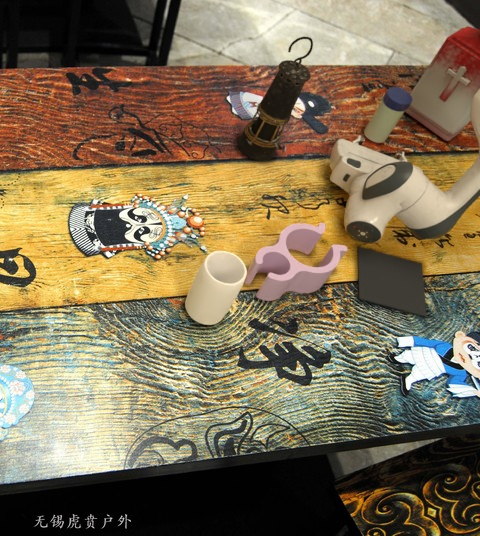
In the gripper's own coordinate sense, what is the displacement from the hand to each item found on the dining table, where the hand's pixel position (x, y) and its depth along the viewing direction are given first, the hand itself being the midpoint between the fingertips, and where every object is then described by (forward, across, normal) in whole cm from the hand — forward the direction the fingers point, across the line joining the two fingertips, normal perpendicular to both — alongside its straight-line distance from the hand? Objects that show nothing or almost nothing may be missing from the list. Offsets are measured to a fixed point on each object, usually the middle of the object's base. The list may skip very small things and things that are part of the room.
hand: (380, 145), depth 169 cm
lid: (+11, 0, -6) cm, 13 cm away
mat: (-34, -9, +6) cm, 35 cm away
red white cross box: (+25, -13, +6) cm, 29 cm away
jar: (+11, 0, +6) cm, 13 cm away
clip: (-42, +12, +6) cm, 44 cm away
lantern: (-9, +26, +6) cm, 28 cm away
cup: (-59, +25, +6) cm, 65 cm away
